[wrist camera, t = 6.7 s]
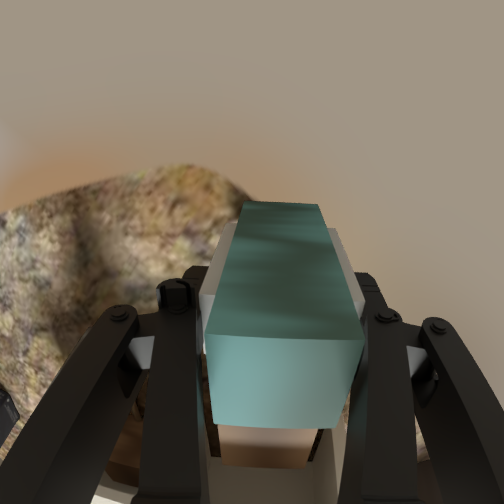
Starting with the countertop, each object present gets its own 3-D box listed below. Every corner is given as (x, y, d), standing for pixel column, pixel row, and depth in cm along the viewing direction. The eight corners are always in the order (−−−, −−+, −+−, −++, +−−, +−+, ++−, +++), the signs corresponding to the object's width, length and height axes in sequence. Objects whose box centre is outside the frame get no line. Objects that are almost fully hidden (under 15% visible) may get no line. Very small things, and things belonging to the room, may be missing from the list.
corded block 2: (231, 405, 25) (213, 522, 15) (226, 200, 18) (165, 329, 8) (302, 408, 25) (305, 526, 15) (335, 205, 17) (401, 339, 8)
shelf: (103, 438, 32) (75, 510, 22) (72, 381, 27) (26, 466, 17) (321, 464, 30) (324, 549, 20) (342, 412, 26) (356, 522, 16)
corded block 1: (127, 439, 31) (100, 517, 21) (79, 324, 23) (11, 426, 13) (177, 449, 30) (156, 533, 21) (144, 334, 23) (88, 457, 13)
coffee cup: (439, 472, 33) (452, 526, 24) (388, 486, 34) (397, 543, 25) (454, 447, 29) (472, 509, 20) (397, 464, 31) (409, 531, 22)
